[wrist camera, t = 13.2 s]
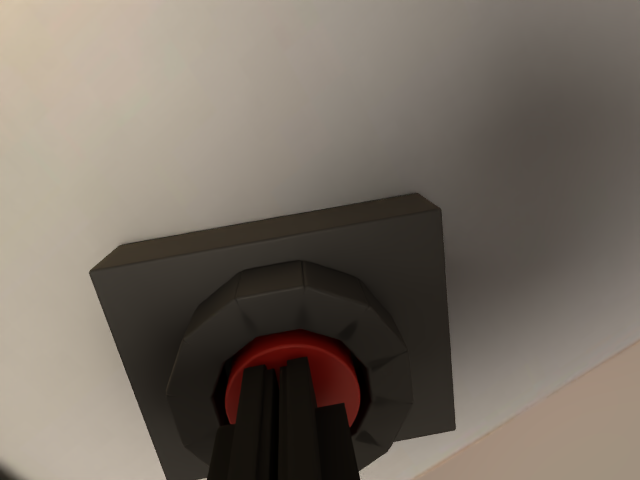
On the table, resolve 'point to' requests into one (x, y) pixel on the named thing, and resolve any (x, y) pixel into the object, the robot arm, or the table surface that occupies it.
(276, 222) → the button base
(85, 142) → the table surface
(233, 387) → the button
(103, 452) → the table surface
